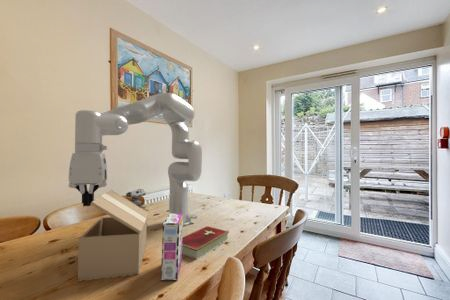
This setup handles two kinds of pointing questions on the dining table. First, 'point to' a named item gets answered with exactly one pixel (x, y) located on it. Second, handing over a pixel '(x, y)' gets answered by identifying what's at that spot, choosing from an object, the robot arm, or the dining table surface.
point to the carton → (110, 250)
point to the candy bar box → (172, 246)
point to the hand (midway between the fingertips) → (87, 205)
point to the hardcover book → (202, 241)
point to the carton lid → (121, 210)
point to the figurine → (136, 197)
